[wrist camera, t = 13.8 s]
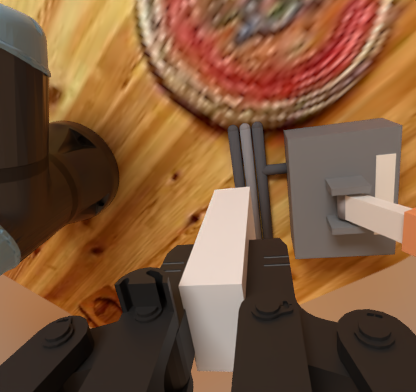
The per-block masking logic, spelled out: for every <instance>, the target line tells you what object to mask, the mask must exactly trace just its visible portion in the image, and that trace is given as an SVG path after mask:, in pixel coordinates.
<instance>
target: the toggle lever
mask: <svg viewBox="0 0 416 392" xmlns="http://www.w3.org/2000/svg"><path fill="white" fill-rule="evenodd" d="M337 216H338V218H340V219H344V220H347V221H350V222H352V223H355V224H357V225H359V226H362V227H364V228H367V229H369V230H371V231H374V232H376V233H378V234H381V235H383V236H386V237H388V238H390V239H393V240H395V241H398V242H400V243H402V251H404V252H406V253H408V254H410V255H413V256H415V257H416V208H413V209H412V208H408V207H405V206H402V205H399V204H395V203H392V202H389V201H386V200H382V199H379V198H376V197H372V196H369V195H366V194H363V193H361V194H349V195H337Z"/></svg>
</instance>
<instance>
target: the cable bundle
mask: <svg viewBox="0 0 416 392" xmlns="http://www.w3.org/2000/svg"><path fill="white" fill-rule="evenodd" d="M252 135H253V144H254V154H255V163H256V173H257V182H258V191H259V201H260V210H261V220H262V229H263V239H271V238H273V233H272V222H271V212H270V201H269V190H268V180H267V175H275V174H285V173H287V164H286V163H282V164H272V165H266V158H265V148H264V137H263V126H262V124H261V123H260V122H255V123H253V125H252ZM240 136H241V145H242V153H243V162H244V170H245V178H246V187H250V192H251V201H252V209H253V218H254V227H255V235H256V239H262V233H261V224H260V214H259V205H258V196H257V186H256V177H255V168H254V158H253V149H252V140H251V130H250V126H249V125H248V124H246V123H244V124H242V125H241V126H240ZM228 137H229V144H230V152H231V159H232V167H233V175H234V182H235V188H239V187H245V182H244V174H243V165H242V157H241V149H240V140H239V132H238V128H237V126H235V125H231V126H229V128H228Z"/></svg>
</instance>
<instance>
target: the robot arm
mask: <svg viewBox="0 0 416 392" xmlns="http://www.w3.org/2000/svg"><path fill="white" fill-rule="evenodd" d="M49 77H51V73H50V71H49V70H48V56H47V40H46V36H45V33H44V31H43V29H42V28H41V26H40V25H39V24H38V23H37V22H36V21H35V20H34V19H32V18H31V17H29V16H28V15H26V14H24V13H22V12H19V11H17V10H15V9H13V8H10V7H8V6H5V5H3V4H0V275H2V274H3V273H5V272H6V271H8V270H11V269H12V268H15V267H16V266H17V265H18V264H19V263H20V262H21V261H22V260H23V259H25V258H26V257H27V256H28V255H30V254H31V253H32V252H33V251H34V250H36V249H37V248H38V247H39V246H40V245H42V244H43V243H44V242H45V241H47V240H48V239H49V238H50V237H51V236H53V235H54V234H55V233H56V232H57V231H59V230H60V229H61V228H62V227H63V226H65V225H66V224H69V223H74V222H78V221H82V220H86V219H89V218H92V217H94V216H96V215H97V214H99V213H100V212H101V211H102V210H104V209H105V208H106V207H107V206H108V205H109V204H110V203H111V202H112V200H113V199H114V197H115V195H116V192H117V189H118V184H119V172H118V167H117V163H116V160H115V158H114V156H113V154H112V152H111V150H110V148H109V147H108V145H107V144H106V143H105V142H104V141H103V139H102V138H101V137H100V136H98V135H97V134H96V133H95V132H93V131H92V130H90V129H89V128H87V127H85V126H83V125H81V124H78V123H75V122H70V121H56V122H51V123H49ZM115 288H116V292H117V295H118V298H119V301H120V305H121V308H122V311H123V313H122V315H121V317H120V319H119V320H118V321H117V322H114V323H111V324H107V325H103V326H100V327H96V328H92V329H90V328H89V325H88V323H87V321H86V319H85V318H83V317H81V316H68V317H64V318H60V319H58V320H56V321H54V322H52V323H50V324H48V325H47V326H45V327H44V328H43V329H41V330H40V331H39V332H37V333H36V334H35V335H34V336H33V337H32V338H31V339H30V340H28V341H27V342H26V343H25V344H24V345H23V346H22V347H21V348H19V349H18V350H17V351H16V352H15V353H14V354H13V355H12V356H10V358H8V359H7V360H6V361H5V362H4V363H3V364H1V365H0V392H193V379H192V375H191V369H192V364H193V360H194V357H195V361H196V366H197V370H198V371H230V372H233V378H232V389H231V392H416V335H415V334H414V333H413V332H412V331H411V330H410V329H409V328H408V327H407V326H406V325H405V324H403V323H402V322H401V321H400V320H398V319H397V318H395V317H393V316H390V315H388V314H386V313H384V312H380V311H375V310H370V309H364V310H354V311H351V312H349V313H346V314H345V315H344V316H343V317H342V318H341V319H340V320H339V321H338V322H333V321H328V320H324V319H321V318H318V317H315V316H313V315H311V314H309V313H307V312H306V311H305V310H304V309H302V308H301V307H300V305H299V304H298V303H297V301H296V298H295V294H294V287H293V281H292V275H291V268H290V262H289V256H288V249H287V245H286V244H285V243H284V242H283V241H282V240H281V239H280V238H271V239H256V235H255V227H254V218H253V209H252V201H251V192H250V187H239V188H229V189H218V190H215V191H214V193H213V196H212V199H211V201H210V204H209V207H208V209H207V212H206V215H205V217H204V220H203V223H202V225H201V228H200V231H199V233H198V236H197V238H196V241H195V244H191V245H177V246H176V247H175V248H173V249H172V250H171V251H170V252H169V253H168V254H167V256H166V257H165V259H164V261H163V264H162V265H161V267H160V269H159V268H151V267H149V268H143V269H138V270H135V271H133V272H130V273H128V274H127V275H125V276H123V277H122V278H120V279H119V280H118V281H117V282H116V284H115Z"/></svg>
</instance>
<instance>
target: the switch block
mask: <svg viewBox="0 0 416 392" xmlns="http://www.w3.org/2000/svg"><path fill="white" fill-rule="evenodd" d="M401 140H402V125H400V124H397V123H394V122H392V121H389V120H386V119H384V118H378V119H370V120H362V121H354V122H347V123H339V124H331V125H323V126H315V127H307V128H299V129H292V130H284V141H285V155H286V164H287V183H288V197H289V211H290V225H291V238H292V243H293V248H294V254H295V259H307V258H328V257H349V256H370V255H390V254H395V242H396V241H395V240H393V239H390V238H388V237H386V236H383V235H381V234H378V233H376V232H374V231H371V230H369V229H367V228H364V227H362V226H359V225H357V224H355V223H352V222H350V221H347V220H344V219H340V218H338V216H337V195H349V194H361V193H363V194H366V195H369V196H372V197H376V198H379V199H382V200H386V201H389V202H392V203H395V204H398V191H399V174H400V157H401Z"/></svg>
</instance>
